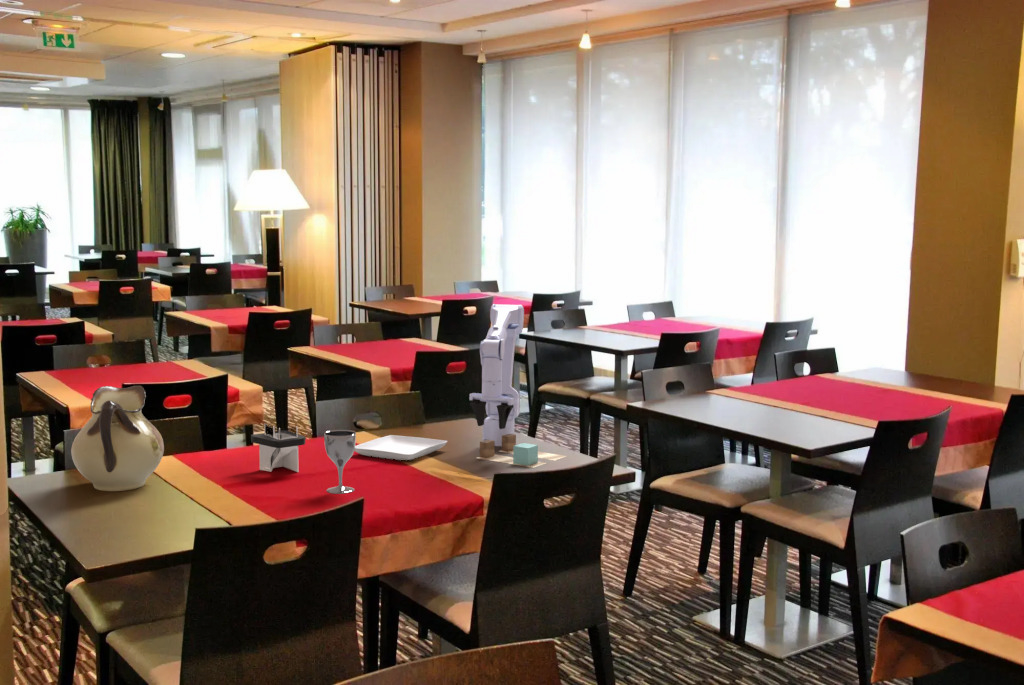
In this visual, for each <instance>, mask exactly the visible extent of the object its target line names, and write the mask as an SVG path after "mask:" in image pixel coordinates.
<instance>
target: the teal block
mask: <svg viewBox="0 0 1024 685" xmlns="http://www.w3.org/2000/svg"><path fill="white" fill-rule="evenodd" d="M538 452H539V445H538V444H532V443H525V442H523V443H519V444H516V445H515V446H513V454H512V456H513V463H515V464H521V465H527V466H529V465H532V464H535V463H538V462H539V458H538Z"/></svg>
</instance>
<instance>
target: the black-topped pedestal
mask: <svg viewBox="0 0 1024 685" xmlns="http://www.w3.org/2000/svg"><path fill="white" fill-rule="evenodd" d="M263 427H264V432H263V433H262V432H261V433H255V434H250V443H253V444H258V445H259V470H260V471H266V472H272V471H273V469H275V468H281V467H283V468H286V469H288V470H291V471H294V472H296V473H299V446H304V445H306V436H304V435H302V434H299V432H298V431H299V430H298V429H299V427H298V425H296V426H289V427H285V428H280V427H279V428H278V429H277V428H276V426H274V425H273V426H272V425H269V424H266V423H264V425H263Z"/></svg>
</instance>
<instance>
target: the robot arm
mask: <svg viewBox="0 0 1024 685" xmlns="http://www.w3.org/2000/svg"><path fill="white" fill-rule="evenodd" d="M524 308H525V307H524V306H523V305H522V304H500V303H499V304H496V303H492V305H491V306H490V314H489V318H490V322H491V327H489V329H488V331H487V335H486V336H485V339H483V340H481V341H480V344H479V355H480V365H481V393H479V392H477V393H476V392H472V393H469V401H470V402H469V406H470V407H471V409H472V411H473V413H474V415H475V419H476V423H477V427H481V426H482V441H485V440H494V441H495V447H502V436H503V435H506V434H515V419H516V418H517V417H519V415H520V408H521V401H520V396H521V395H520V393H519V392H518V391H517V390H516V389H515V388H514V387H512V386H513V383H512V382H513V372H514V360H515V358H514V357H515V347H516V346H515V345H516V340H517V337H518V335H520V334H522V333H523V329H524V322H525V321H524V320H525V309H524ZM485 412H486V413H485ZM485 414H486V415H487V417H486V418H485Z"/></svg>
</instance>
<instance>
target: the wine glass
mask: <svg viewBox="0 0 1024 685" xmlns="http://www.w3.org/2000/svg"><path fill="white" fill-rule="evenodd" d="M356 434H357V433H356V431H355V430H350V429H333V430H327V431H325V432H324V434H323V435H324V436H323V437H324V448H325V452H326V454H327V457H328V458H329V459H330V460H331V462H333V463H334V465H335V466H336V467H337V468H336V469H337V473H338V485H337V486H334V487H328V488H327V489H326V492H327V493H330V494H334V495H335V494H336V495H337V494H338V495H344V494H350V493H353V492H355V488H353V487H351V486H346V485H345V486H344V485H343V472H344V467H345V465H346V464H347V462H348V461H349V460H350V459H351V457H353V455H354V453H355V451H354V449H355V446H356V442H357V440H356V439H357V435H356Z"/></svg>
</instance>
